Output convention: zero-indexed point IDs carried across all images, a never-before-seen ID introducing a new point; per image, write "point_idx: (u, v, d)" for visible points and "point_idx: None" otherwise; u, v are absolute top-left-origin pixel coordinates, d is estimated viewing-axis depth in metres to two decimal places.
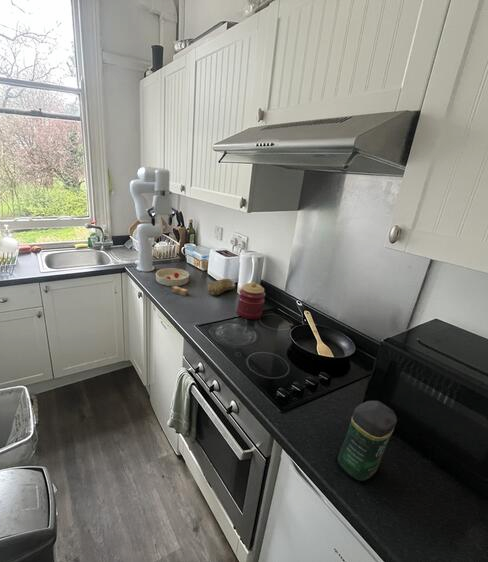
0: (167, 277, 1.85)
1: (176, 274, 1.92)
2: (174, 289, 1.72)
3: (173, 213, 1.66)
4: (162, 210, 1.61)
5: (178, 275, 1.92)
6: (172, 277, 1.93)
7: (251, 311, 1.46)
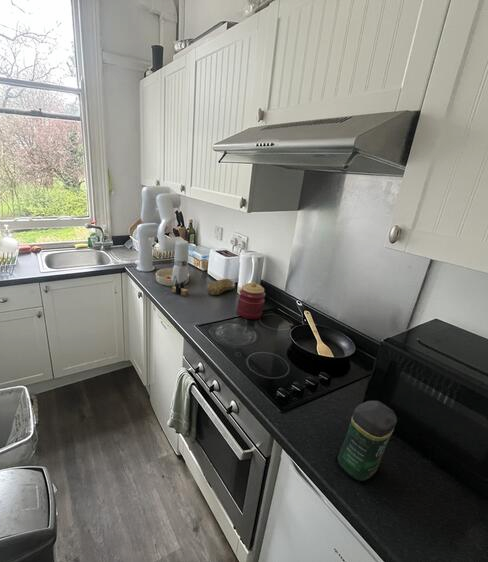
0: (167, 277, 1.85)
1: None
2: (174, 289, 1.72)
3: (184, 280, 1.72)
4: (183, 278, 1.67)
5: None
6: None
7: (251, 311, 1.46)
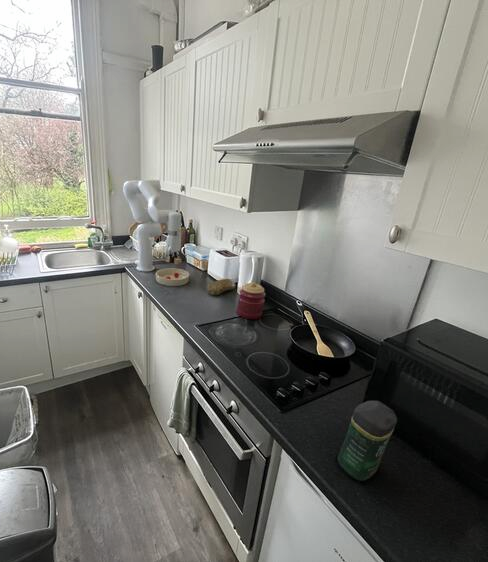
0: (167, 277, 1.85)
1: (176, 274, 1.92)
2: (168, 259, 1.84)
3: (177, 251, 1.85)
4: (176, 248, 1.80)
5: (178, 275, 1.92)
6: (172, 277, 1.93)
7: (251, 311, 1.46)
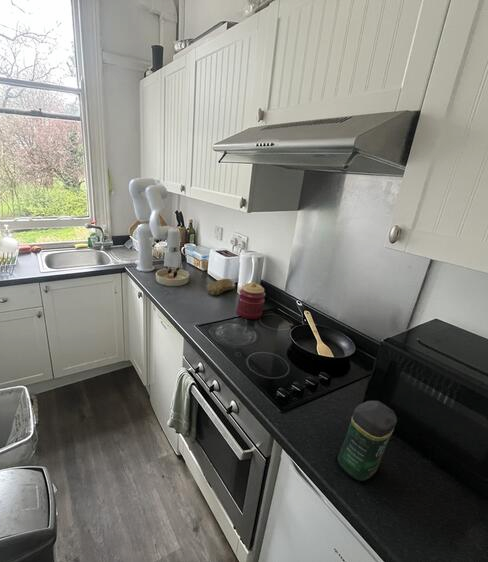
0: None
1: None
2: (172, 275, 1.86)
3: None
4: None
5: None
6: None
7: (251, 311, 1.46)
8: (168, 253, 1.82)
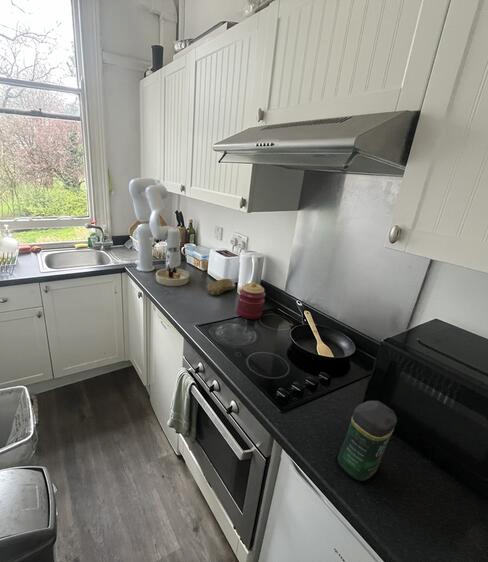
0: None
1: None
2: None
3: None
4: None
5: None
6: None
7: (251, 311, 1.46)
8: (174, 254, 1.81)
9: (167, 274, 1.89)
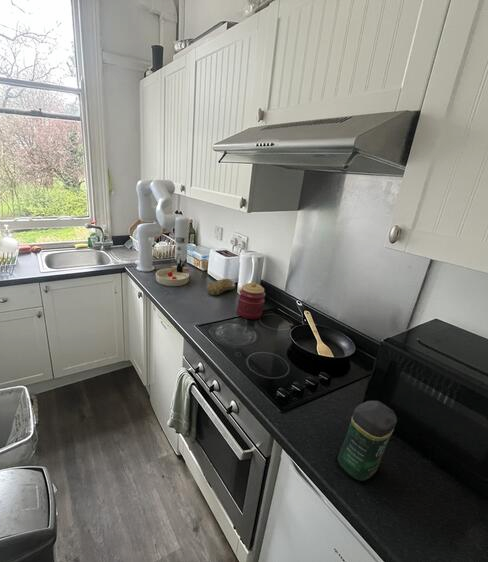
0: (172, 278, 1.86)
1: None
2: None
3: None
4: None
5: None
6: (172, 277, 1.93)
7: (251, 311, 1.46)
8: (185, 245, 1.61)
9: (174, 269, 1.67)
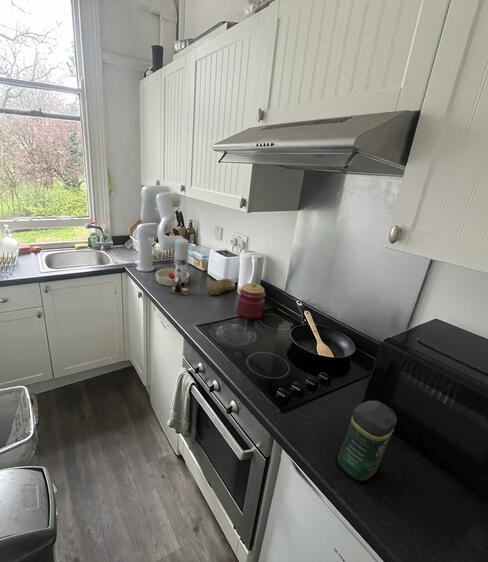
0: None
1: (171, 273, 1.91)
2: None
3: (176, 283, 1.63)
4: None
5: (170, 275, 1.91)
6: None
7: (251, 311, 1.46)
8: (184, 267, 1.64)
9: (174, 291, 1.71)
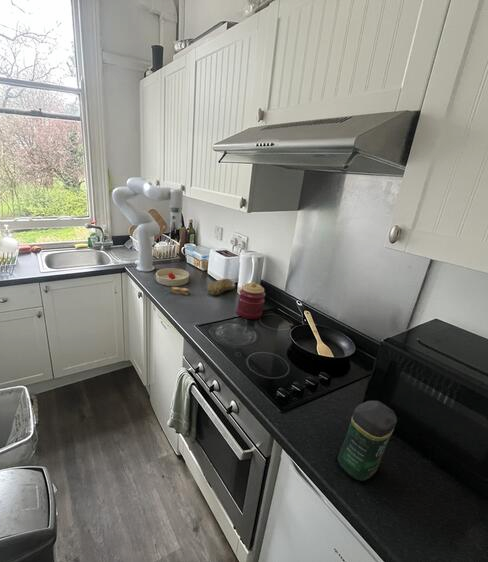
0: None
1: (171, 273, 1.92)
2: None
3: None
4: None
5: (170, 275, 1.91)
6: None
7: (251, 311, 1.46)
8: (179, 215, 1.79)
9: (174, 291, 1.71)
